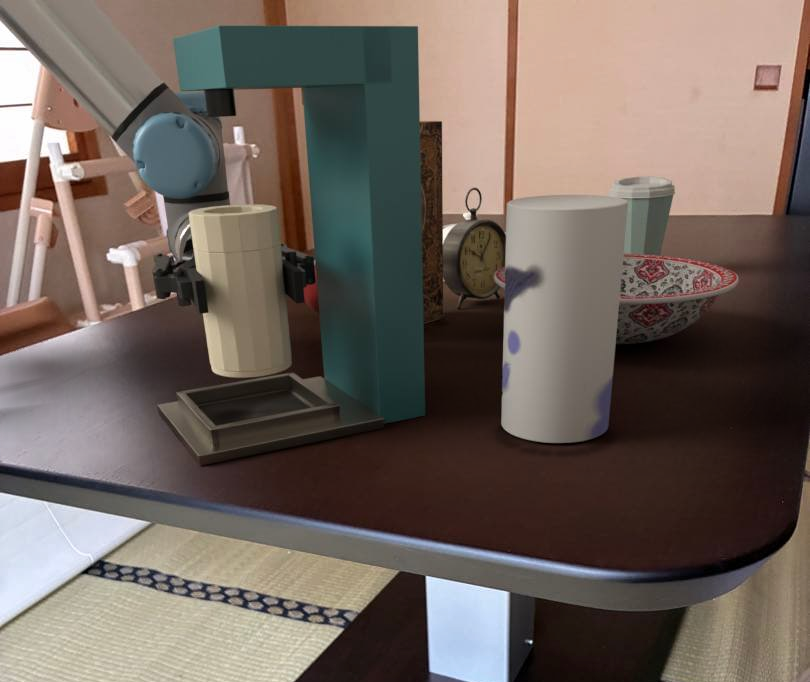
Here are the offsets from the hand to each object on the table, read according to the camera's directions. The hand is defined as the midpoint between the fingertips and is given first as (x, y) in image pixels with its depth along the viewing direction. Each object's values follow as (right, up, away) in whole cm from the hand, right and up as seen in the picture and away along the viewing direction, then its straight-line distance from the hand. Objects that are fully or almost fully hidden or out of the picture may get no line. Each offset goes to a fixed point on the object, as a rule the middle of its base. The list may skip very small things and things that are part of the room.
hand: (251, 292), depth 72 cm
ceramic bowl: (+39, +4, +34) cm, 52 cm away
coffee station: (+2, -9, +12) cm, 15 cm away
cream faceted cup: (-1, -5, +8) cm, 9 cm away
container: (+27, -11, +7) cm, 30 cm away
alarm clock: (+24, +14, +54) cm, 61 cm away
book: (+12, +8, +43) cm, 46 cm away
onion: (+1, +11, +50) cm, 52 cm away
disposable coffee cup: (+52, +23, +70) cm, 90 cm away
